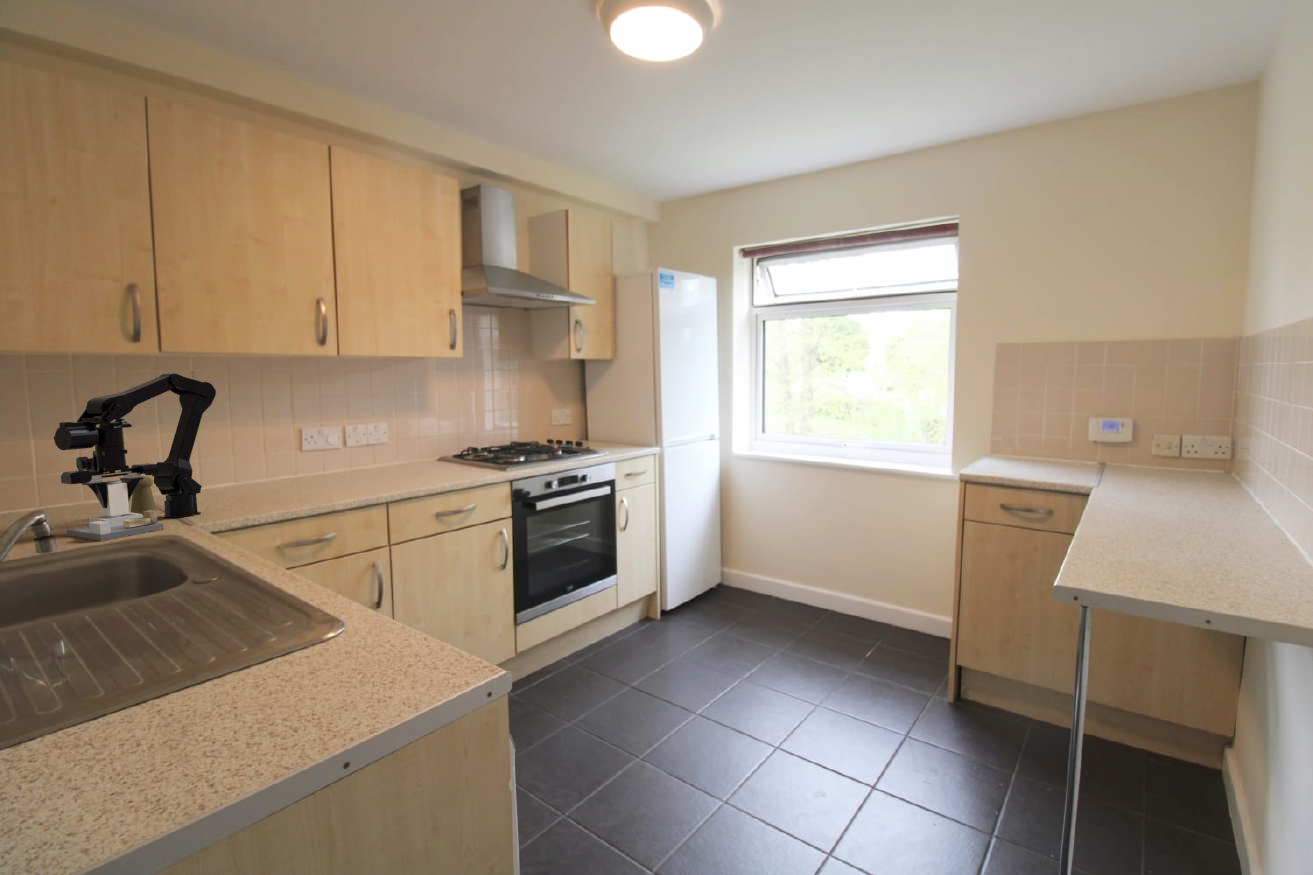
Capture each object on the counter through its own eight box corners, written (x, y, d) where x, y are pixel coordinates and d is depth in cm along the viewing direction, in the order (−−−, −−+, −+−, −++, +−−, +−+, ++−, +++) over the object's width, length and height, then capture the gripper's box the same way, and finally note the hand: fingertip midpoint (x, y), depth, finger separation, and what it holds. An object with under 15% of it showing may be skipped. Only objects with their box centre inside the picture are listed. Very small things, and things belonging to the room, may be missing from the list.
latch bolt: (151, 521, 162) (150, 510, 162) (157, 522, 161) (156, 510, 161) (123, 526, 157) (122, 514, 157) (129, 527, 156) (128, 515, 155)
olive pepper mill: (148, 511, 187) (144, 475, 186) (162, 512, 185) (159, 475, 184) (125, 515, 181) (121, 478, 180) (140, 516, 179) (136, 478, 178)
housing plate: (128, 524, 169) (127, 509, 168) (163, 529, 161) (162, 514, 161) (66, 534, 157) (65, 519, 157) (101, 541, 149) (99, 524, 149)
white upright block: (121, 512, 165) (118, 479, 164) (129, 513, 163) (126, 480, 162) (102, 515, 161) (99, 482, 161) (110, 516, 160) (107, 482, 159)
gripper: (136, 442, 173) (141, 498, 174) (47, 449, 156) (53, 511, 157) (158, 443, 168) (163, 500, 169) (69, 450, 151) (75, 514, 152)
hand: (115, 506), depth 162 cm, fingers closed on white upright block, 4 cm apart
